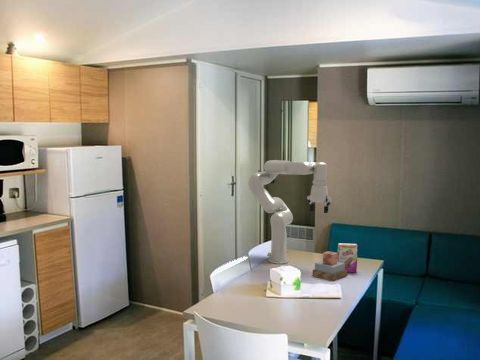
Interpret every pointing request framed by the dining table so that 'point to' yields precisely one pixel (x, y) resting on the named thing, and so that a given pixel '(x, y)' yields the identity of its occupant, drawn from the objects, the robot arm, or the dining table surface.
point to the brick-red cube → (330, 258)
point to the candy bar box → (348, 256)
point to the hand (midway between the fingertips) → (319, 211)
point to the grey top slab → (330, 267)
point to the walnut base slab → (330, 275)
